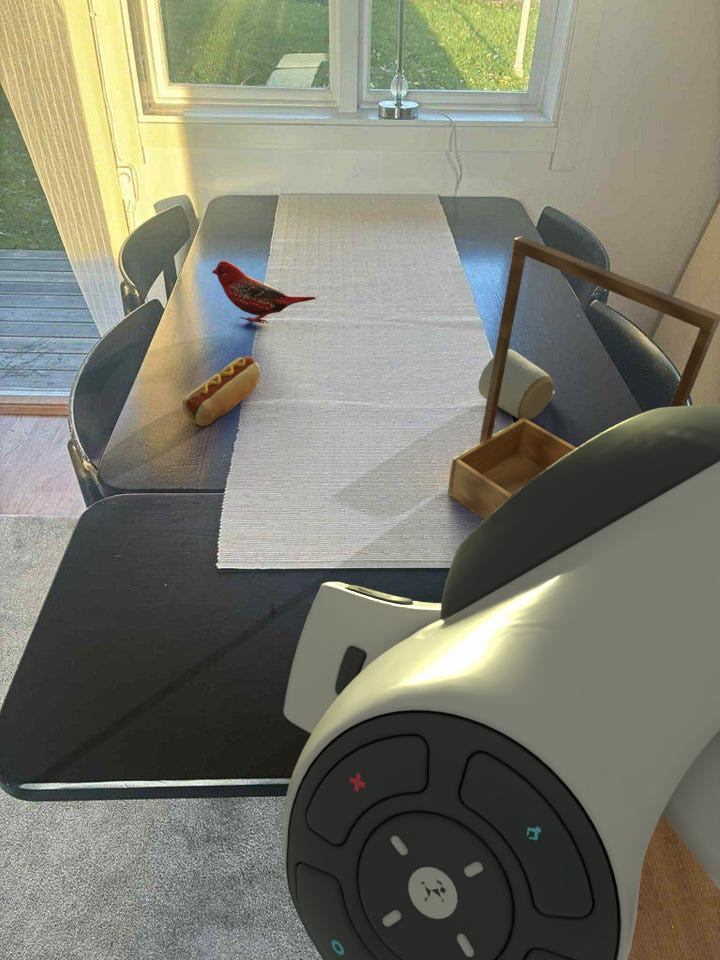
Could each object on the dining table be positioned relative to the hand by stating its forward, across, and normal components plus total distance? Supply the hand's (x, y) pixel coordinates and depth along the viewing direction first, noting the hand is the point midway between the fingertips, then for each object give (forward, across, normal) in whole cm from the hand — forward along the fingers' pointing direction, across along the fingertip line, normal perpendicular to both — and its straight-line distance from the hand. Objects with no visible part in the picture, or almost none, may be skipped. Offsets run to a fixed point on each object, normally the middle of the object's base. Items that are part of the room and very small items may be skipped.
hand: (501, 666), depth 42 cm
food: (+45, +46, -15) cm, 66 cm away
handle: (+42, 0, -12) cm, 44 cm away
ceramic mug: (+57, +8, -27) cm, 64 cm away
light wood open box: (+42, 0, -12) cm, 44 cm away
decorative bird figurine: (+62, +52, -31) cm, 86 cm away
